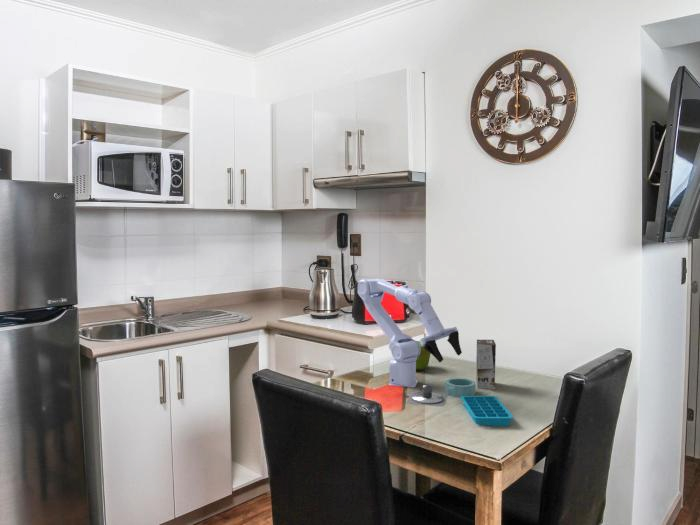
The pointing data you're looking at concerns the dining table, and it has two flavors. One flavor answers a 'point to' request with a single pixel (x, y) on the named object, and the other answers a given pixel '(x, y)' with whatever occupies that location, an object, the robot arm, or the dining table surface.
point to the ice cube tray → (487, 410)
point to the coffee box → (485, 364)
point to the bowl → (460, 387)
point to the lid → (427, 396)
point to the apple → (422, 358)
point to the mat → (427, 404)
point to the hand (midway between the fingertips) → (450, 357)
